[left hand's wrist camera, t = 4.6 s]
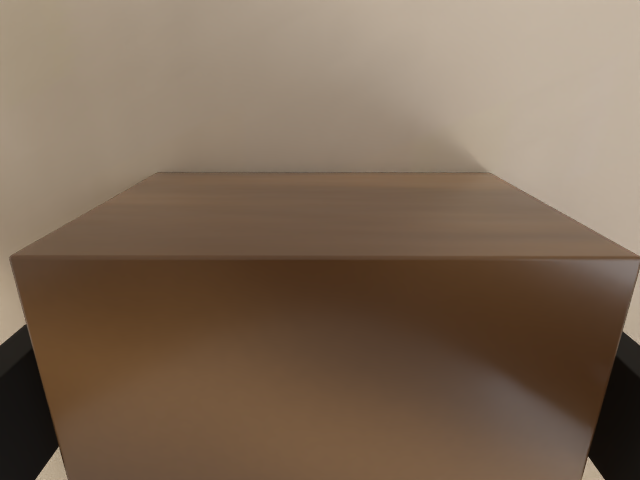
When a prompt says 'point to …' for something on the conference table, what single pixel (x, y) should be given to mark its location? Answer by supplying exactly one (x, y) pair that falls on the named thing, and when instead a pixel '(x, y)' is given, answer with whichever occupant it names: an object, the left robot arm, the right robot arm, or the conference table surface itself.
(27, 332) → the left robot arm
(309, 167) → the conference table surface
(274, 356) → the slab
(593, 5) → the conference table surface
